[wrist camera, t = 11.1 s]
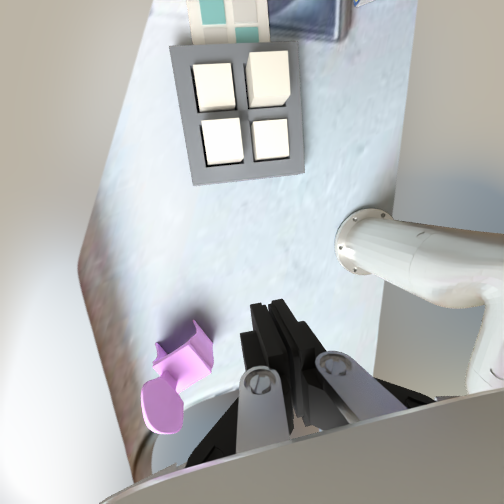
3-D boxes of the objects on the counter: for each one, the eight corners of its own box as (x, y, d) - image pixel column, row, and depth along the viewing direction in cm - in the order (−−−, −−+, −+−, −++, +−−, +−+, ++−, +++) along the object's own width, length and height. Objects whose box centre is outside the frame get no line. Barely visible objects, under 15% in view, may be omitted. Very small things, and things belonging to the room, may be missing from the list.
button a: (279, 127, 36) (286, 118, 32) (281, 159, 38) (289, 155, 34) (249, 129, 36) (253, 121, 32) (252, 162, 37) (257, 158, 33)
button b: (236, 126, 33) (239, 117, 30) (240, 161, 35) (243, 157, 31) (202, 129, 33) (201, 120, 29) (208, 165, 34) (207, 161, 30)
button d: (228, 78, 34) (230, 63, 30) (233, 114, 35) (235, 104, 31) (195, 80, 33) (192, 64, 29) (201, 117, 34) (199, 107, 30)
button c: (279, 67, 32) (287, 50, 29) (281, 106, 34) (290, 94, 30) (245, 69, 32) (249, 52, 28) (249, 108, 33) (254, 97, 29)
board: (286, -3, 33) (294, -25, 30) (297, 174, 39) (304, 172, 36) (163, -1, 31) (156, -25, 27) (194, 186, 37) (193, 185, 33)
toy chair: (218, 345, 44) (219, 418, 30) (178, 370, 44) (161, 454, 30) (193, 313, 42) (182, 375, 28) (151, 339, 42) (118, 414, 27)
